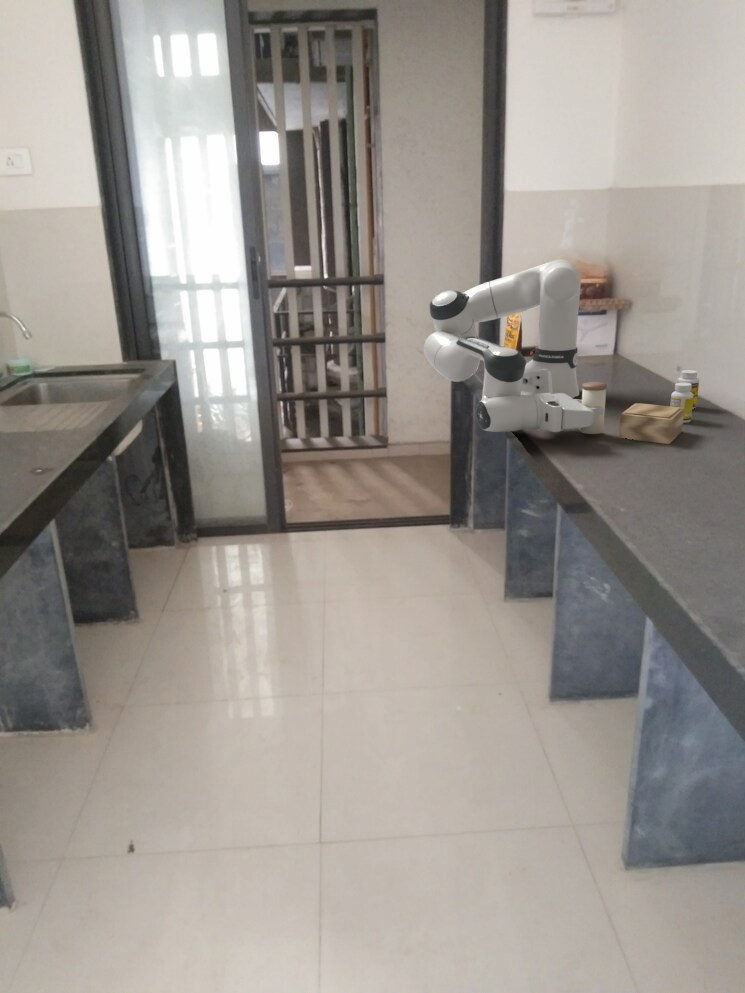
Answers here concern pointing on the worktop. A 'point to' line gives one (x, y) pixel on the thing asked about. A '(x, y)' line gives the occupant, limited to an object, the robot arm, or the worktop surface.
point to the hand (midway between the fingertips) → (596, 407)
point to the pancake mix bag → (514, 332)
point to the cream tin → (594, 404)
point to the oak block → (651, 423)
